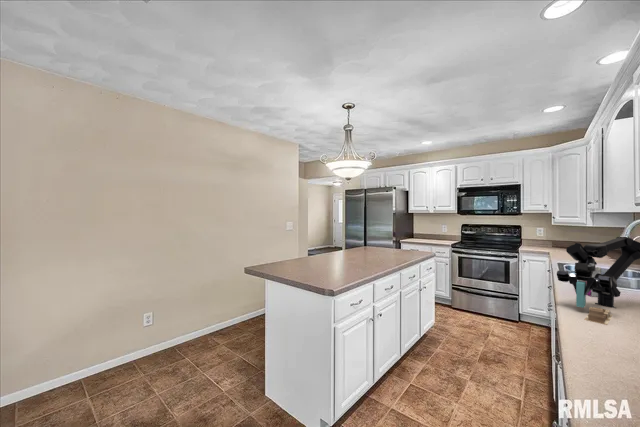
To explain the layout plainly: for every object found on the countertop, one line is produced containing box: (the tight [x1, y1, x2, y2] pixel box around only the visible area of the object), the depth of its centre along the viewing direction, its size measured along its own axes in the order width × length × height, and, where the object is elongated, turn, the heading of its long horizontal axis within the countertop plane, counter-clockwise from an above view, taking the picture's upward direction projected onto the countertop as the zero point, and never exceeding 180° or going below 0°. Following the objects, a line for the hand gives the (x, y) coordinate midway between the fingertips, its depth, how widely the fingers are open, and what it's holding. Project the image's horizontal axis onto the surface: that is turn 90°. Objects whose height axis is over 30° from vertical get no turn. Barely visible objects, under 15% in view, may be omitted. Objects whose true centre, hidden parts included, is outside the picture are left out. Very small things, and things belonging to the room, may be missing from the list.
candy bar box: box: [577, 265, 602, 298], centre depth 162 cm, size 11×5×16 cm, turn 168°
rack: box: [584, 306, 613, 326], centre depth 124 cm, size 18×7×4 cm, turn 129°
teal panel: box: [575, 280, 587, 308], centre depth 132 cm, size 5×2×11 cm, turn 129°
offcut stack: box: [587, 306, 606, 324], centre depth 121 cm, size 5×5×4 cm
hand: (580, 293), depth 131 cm, fingers closed on teal panel, 2 cm apart
